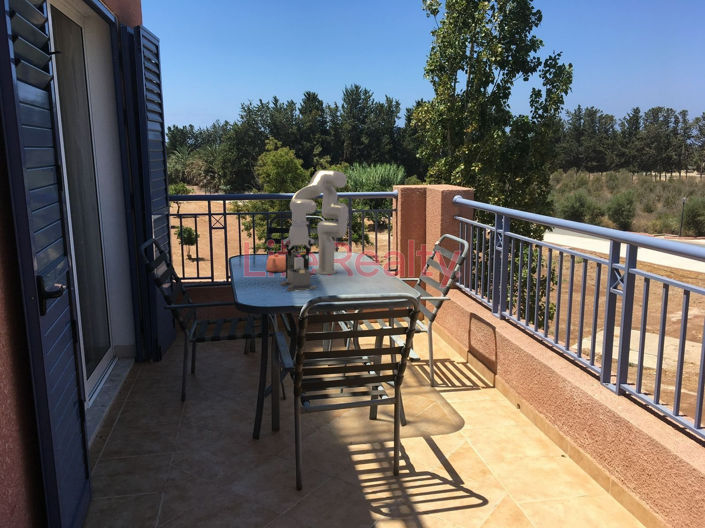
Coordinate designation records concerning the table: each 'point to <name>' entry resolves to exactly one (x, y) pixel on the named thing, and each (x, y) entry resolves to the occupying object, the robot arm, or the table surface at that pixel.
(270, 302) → the table surface
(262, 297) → the table surface
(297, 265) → the column
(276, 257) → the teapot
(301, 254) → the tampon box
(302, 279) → the stand base
